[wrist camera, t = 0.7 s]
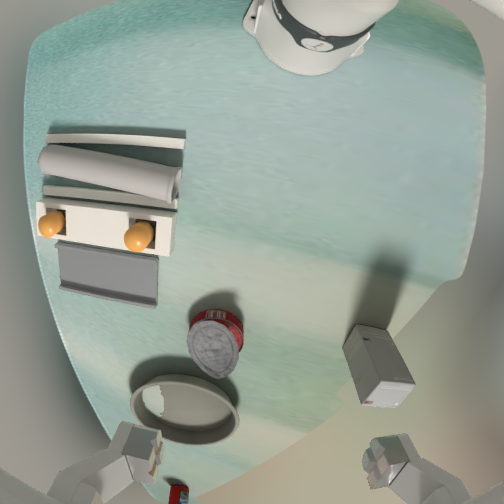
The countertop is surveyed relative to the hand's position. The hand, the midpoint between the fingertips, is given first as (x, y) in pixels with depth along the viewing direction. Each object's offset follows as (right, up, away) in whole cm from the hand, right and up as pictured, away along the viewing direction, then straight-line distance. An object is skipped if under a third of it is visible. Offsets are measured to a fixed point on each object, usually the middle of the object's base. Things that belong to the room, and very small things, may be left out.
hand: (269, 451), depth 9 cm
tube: (-23, +21, +33) cm, 45 cm away
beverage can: (-27, -78, +70) cm, 108 cm away
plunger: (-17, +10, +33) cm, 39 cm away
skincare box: (+22, -10, +46) cm, 52 cm away
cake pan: (-16, -28, +51) cm, 60 cm away
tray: (-26, +4, +39) cm, 47 cm away
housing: (-24, +18, +33) cm, 45 cm away
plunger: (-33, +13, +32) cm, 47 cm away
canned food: (-7, -7, +44) cm, 45 cm away
